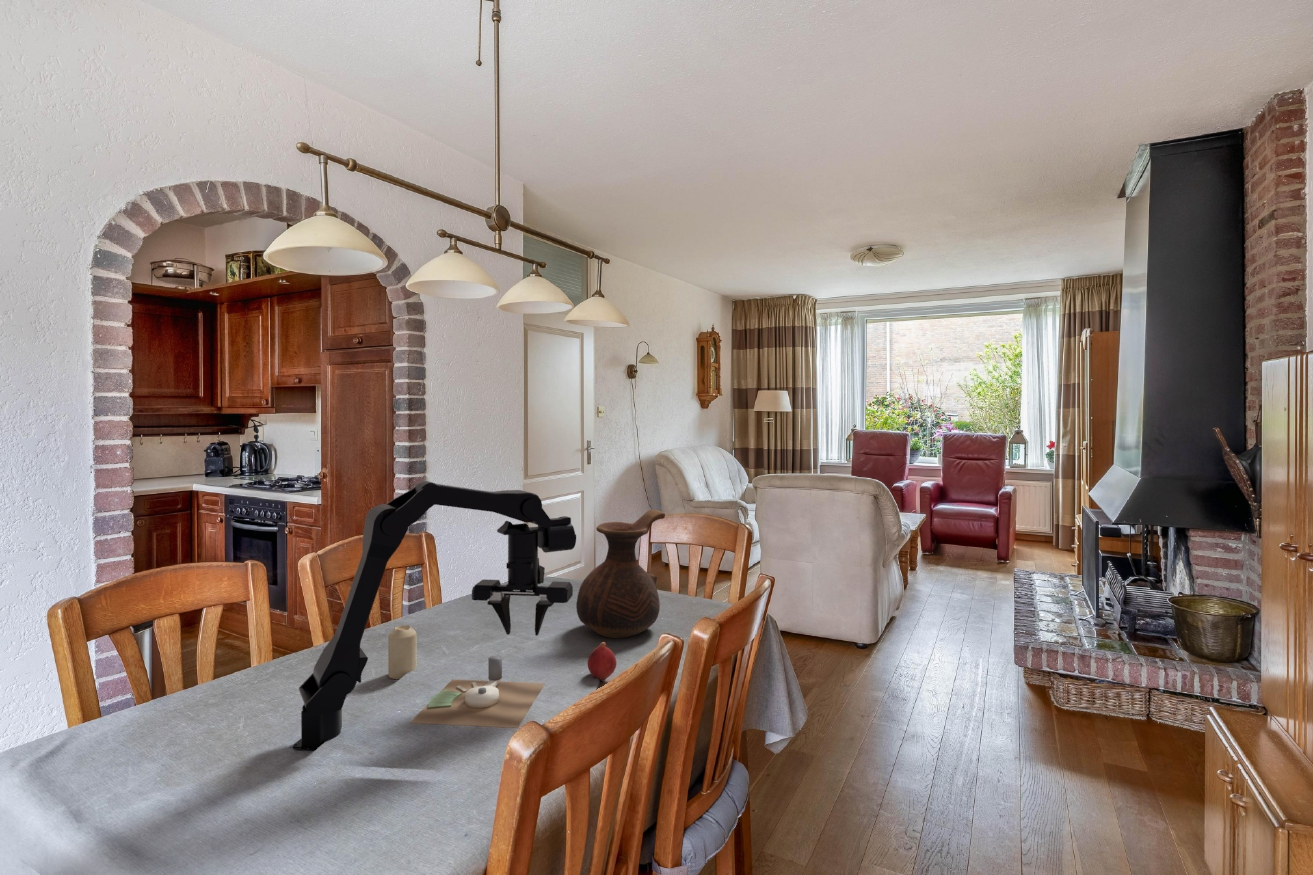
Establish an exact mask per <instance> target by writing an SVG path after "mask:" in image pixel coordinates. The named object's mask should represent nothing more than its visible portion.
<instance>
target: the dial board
mask: <svg viewBox="0 0 1313 875" xmlns="http://www.w3.org/2000/svg"><path fill="white" fill-rule="evenodd" d="M488 681H489V680H471V679H451V680H450V681H449V682H448V683H447V684H446V685H445V686H444V687H443V688H442V689H441V690H440V691H439V692H438V693H436V694H435V695H434V696H433V697H432V698H431V699H429V702H428V703H427V704H426V705H425V706H424V707H423V708H422V709H421V710H420V711H419V713H418V714H416V716H414V718H412V720H411V721H409V723H410V724H422V725H423V724H425V725H442V726H443V725H444V726H445V725H449V726H464V727H465V726H468V727H487V728H488V727H489V728H506V729H507V728H511V729H519V727H520V725H521V723H522V722H523V720H524V719H525V717H526V715H527V713H528V712H529V711H530V709H531V707H532V706H533V704H534V702H535V701H536V699H537V698H538V696H539V694H540V693H541V691H542V690H543V688H544V686H545V685H546V683H542V682H540V683H539V682H520V681H519V682H517V681H500V682H499V683H498V684H497V686H496V688H497V689H498V690H499V701H498V702H497V703H496V704H494V705H492V706H489V707H484V708H473V707H469V706H467V705H466V703H465V693H466V692H467V691H468V690H469V689H471V688H474V687H479V686H485V685H486V683H487V682H488Z"/></svg>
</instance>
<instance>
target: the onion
mask: <svg viewBox="0 0 1313 875" xmlns="http://www.w3.org/2000/svg"><path fill="white" fill-rule="evenodd" d="M616 668H617V658H616V655H615V654H614V652H613V651H612V650H611V649H610V648H609V647H607V643H606V642H605V641H603V642H601V643H600V644H599V645H598V646H597V647H595V648H594V649H593V650H592V651H591V653H590V654H589V656H588V659H587V669H588V671H589V673H590V674H591V675H592V676H593V677H594V678H597V679H599V681H601V682H604V681H606V680H607V679H608V678H609V677H611V676H612V674H614V672H615V670H616Z"/></svg>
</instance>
